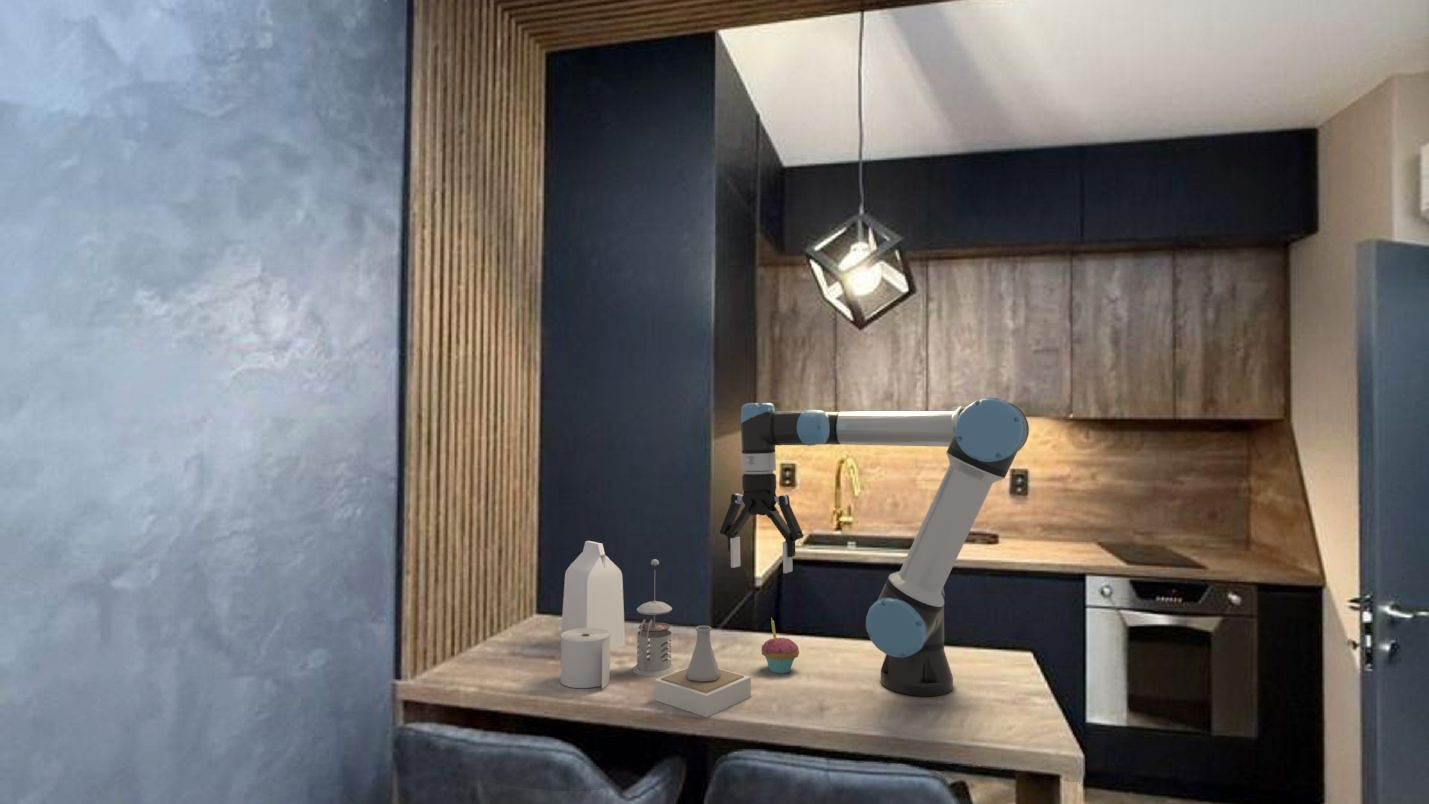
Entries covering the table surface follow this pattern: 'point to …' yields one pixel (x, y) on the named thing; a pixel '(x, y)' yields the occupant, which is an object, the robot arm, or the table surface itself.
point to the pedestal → (702, 691)
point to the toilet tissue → (585, 658)
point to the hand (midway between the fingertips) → (761, 569)
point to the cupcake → (779, 653)
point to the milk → (594, 594)
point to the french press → (653, 640)
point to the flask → (703, 658)
